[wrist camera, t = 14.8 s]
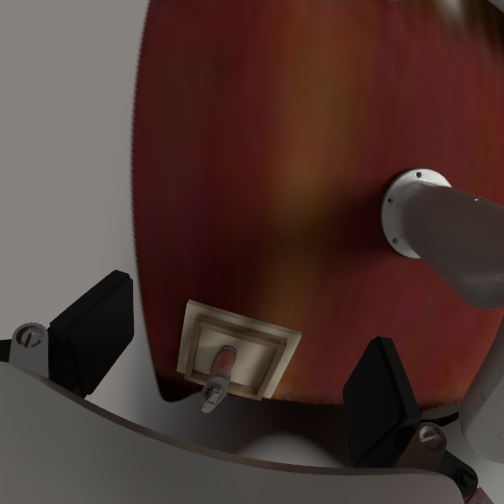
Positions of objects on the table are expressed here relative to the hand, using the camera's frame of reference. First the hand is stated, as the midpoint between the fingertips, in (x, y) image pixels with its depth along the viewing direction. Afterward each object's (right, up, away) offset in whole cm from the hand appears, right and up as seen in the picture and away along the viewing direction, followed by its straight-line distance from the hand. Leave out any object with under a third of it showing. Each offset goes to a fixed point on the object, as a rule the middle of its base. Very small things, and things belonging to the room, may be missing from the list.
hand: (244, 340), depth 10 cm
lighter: (-4, -15, +34) cm, 38 cm away
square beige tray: (-3, -14, +35) cm, 38 cm away
